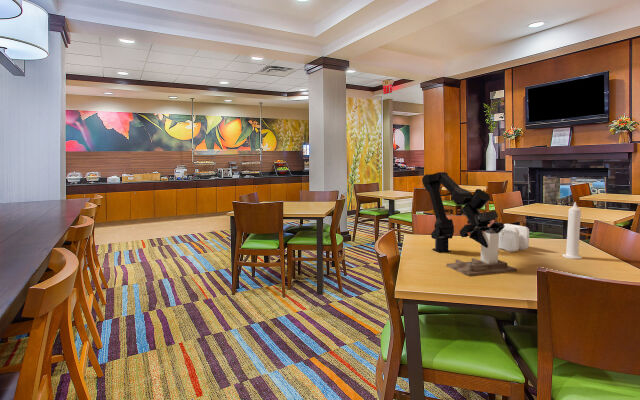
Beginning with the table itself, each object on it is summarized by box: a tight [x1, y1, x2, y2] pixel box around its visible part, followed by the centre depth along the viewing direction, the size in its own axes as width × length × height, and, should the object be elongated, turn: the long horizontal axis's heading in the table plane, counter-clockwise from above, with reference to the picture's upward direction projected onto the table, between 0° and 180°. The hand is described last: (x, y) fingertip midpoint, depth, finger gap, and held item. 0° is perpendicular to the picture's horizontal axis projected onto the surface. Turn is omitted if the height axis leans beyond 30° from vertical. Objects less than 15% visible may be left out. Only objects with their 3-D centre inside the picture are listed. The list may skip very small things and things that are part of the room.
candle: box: [562, 201, 583, 260], centre depth 163 cm, size 7×7×25 cm
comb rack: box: [446, 257, 518, 277], centre depth 147 cm, size 14×22×3 cm, turn 104°
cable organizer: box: [498, 223, 530, 253], centre depth 180 cm, size 15×11×12 cm
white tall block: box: [480, 230, 499, 264], centre depth 148 cm, size 4×4×13 cm
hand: (492, 246), depth 146 cm, fingers closed on white tall block, 4 cm apart
